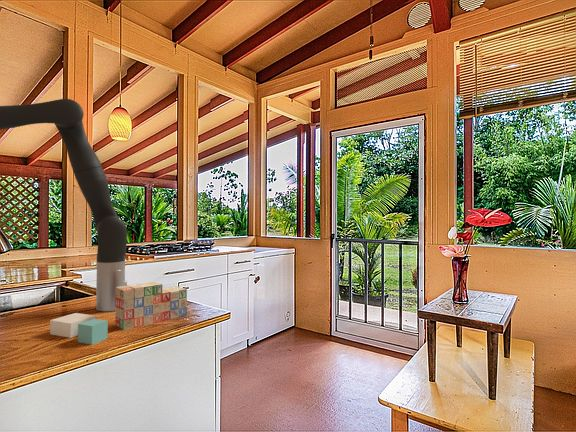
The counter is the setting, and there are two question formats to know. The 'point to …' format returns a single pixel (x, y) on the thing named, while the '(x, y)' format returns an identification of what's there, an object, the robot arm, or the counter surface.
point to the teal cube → (92, 331)
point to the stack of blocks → (148, 304)
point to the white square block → (68, 324)
